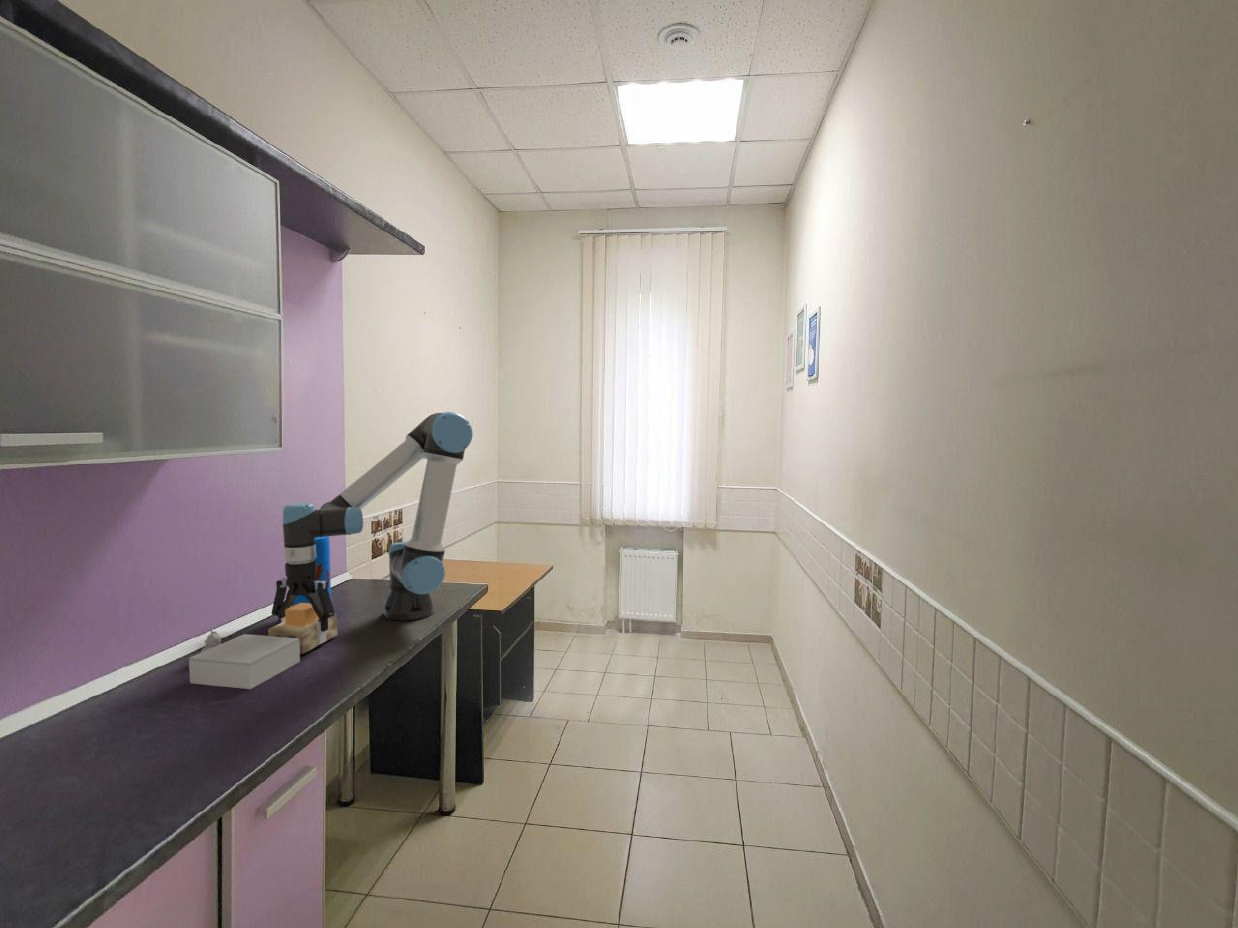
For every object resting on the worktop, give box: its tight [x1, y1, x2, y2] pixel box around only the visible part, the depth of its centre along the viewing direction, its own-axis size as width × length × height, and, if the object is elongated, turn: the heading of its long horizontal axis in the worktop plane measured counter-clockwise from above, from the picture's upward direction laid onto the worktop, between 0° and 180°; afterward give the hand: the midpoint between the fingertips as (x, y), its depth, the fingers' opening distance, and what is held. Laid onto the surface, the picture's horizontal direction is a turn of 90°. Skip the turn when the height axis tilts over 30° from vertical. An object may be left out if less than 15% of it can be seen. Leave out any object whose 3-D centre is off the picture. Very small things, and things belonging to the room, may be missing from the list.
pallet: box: [267, 613, 339, 655], centre depth 162 cm, size 14×10×6 cm
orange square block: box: [285, 603, 319, 626], centre depth 162 cm, size 6×6×4 cm
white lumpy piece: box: [200, 629, 222, 653], centre depth 152 cm, size 5×7×8 cm
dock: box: [188, 633, 301, 690], centre depth 144 cm, size 16×16×6 cm
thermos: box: [291, 536, 332, 607], centre depth 185 cm, size 11×11×25 cm
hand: (304, 641), depth 162 cm, fingers closed on pallet, 10 cm apart
